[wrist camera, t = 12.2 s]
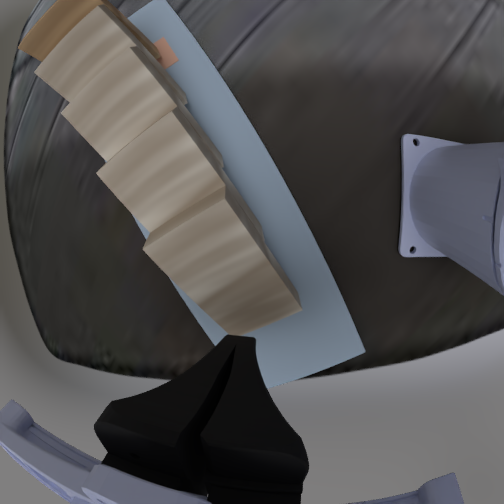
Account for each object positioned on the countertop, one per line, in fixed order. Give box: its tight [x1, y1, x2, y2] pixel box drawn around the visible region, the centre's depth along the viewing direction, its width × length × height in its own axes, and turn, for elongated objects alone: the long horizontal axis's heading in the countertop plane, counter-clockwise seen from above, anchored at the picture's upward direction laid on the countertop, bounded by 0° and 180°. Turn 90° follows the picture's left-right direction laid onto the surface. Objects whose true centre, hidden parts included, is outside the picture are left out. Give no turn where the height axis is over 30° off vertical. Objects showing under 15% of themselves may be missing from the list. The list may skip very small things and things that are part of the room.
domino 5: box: [143, 185, 302, 336], centre depth 15 cm, size 2×5×9 cm
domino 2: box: [34, 4, 188, 105], centre depth 11 cm, size 2×5×9 cm
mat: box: [105, 0, 365, 389], centre depth 17 cm, size 32×10×1 cm, turn 29°
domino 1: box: [18, 0, 161, 62], centre depth 10 cm, size 2×5×9 cm, turn 119°
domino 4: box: [96, 107, 265, 241], centre depth 14 cm, size 2×5×9 cm
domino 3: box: [61, 46, 224, 168], centre depth 13 cm, size 2×5×9 cm
